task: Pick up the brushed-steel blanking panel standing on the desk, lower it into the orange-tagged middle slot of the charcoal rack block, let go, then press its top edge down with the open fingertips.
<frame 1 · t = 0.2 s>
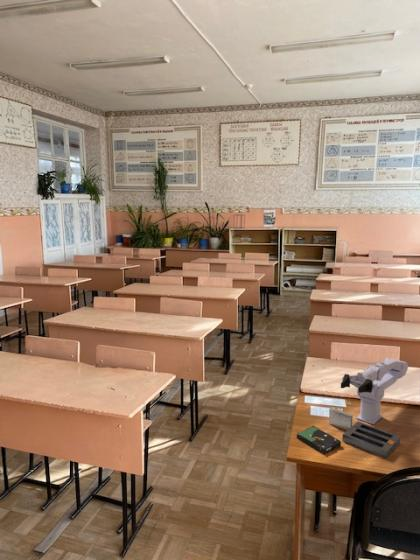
hand: (350, 387, 175), 21 cm above the table, fingers open, 7 cm apart
disk drive: (318, 443, 174), on the table
rack block: (371, 442, 173), on the table
steel panel: (340, 426, 186), on the table
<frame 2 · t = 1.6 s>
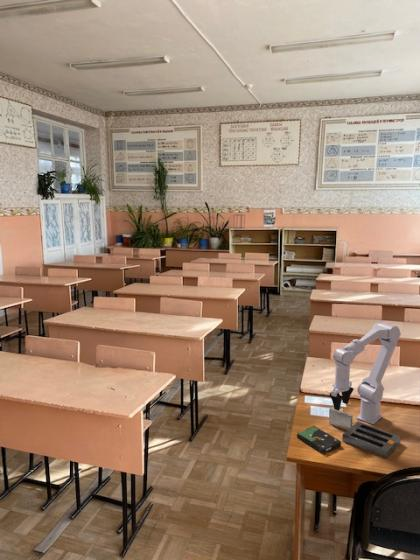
hand: (341, 406, 184), 9 cm above the table, fingers open, 7 cm apart
nothing on the table moved.
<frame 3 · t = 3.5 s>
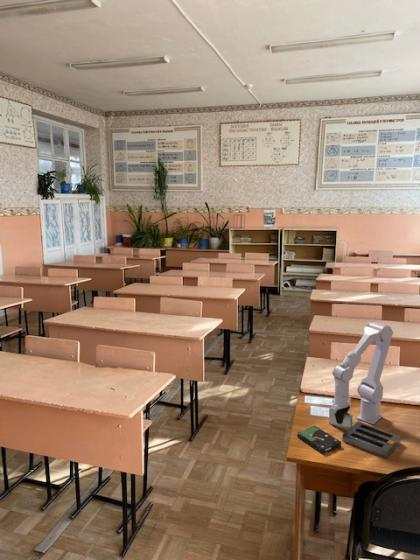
hand: (340, 422, 185), 2 cm above the table, fingers closed on steel panel, 2 cm apart
steel panel: (340, 426, 186), on the table, touching gripper
everything else where it was.
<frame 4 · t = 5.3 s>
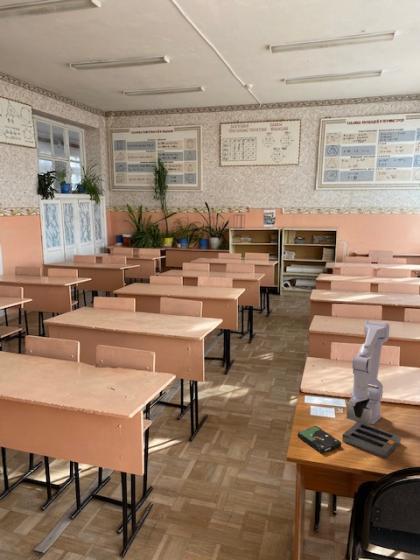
hand: (359, 415, 176), 9 cm above the table, fingers closed on steel panel
steel panel: (358, 421, 177), point 6 cm above the table, touching gripper
everything else where it was.
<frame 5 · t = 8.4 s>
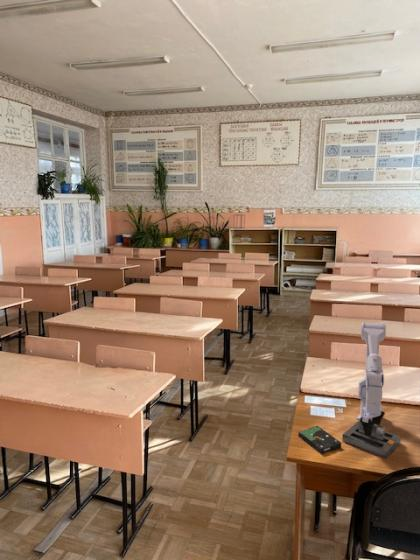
hand: (371, 431, 172), 5 cm above the table, fingers open, 7 cm apart
steel panel: (370, 439, 173), point 1 cm above the table, touching rack block
everything else where it was.
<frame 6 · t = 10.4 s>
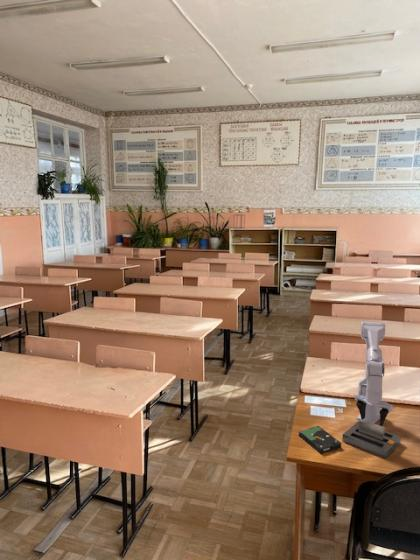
hand: (372, 421, 172), 9 cm above the table, fingers open, 7 cm apart
nothing on the table moved.
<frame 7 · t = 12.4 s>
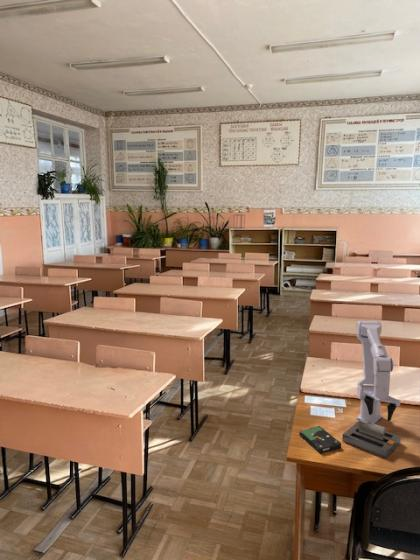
hand: (379, 417, 174), 9 cm above the table, fingers open, 7 cm apart
at the end: steel panel 0.1 cm off-centre on the rack block, point 1.0 cm above the rack block's base; steel panel tilted 0°; the gripper is holding nothing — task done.
